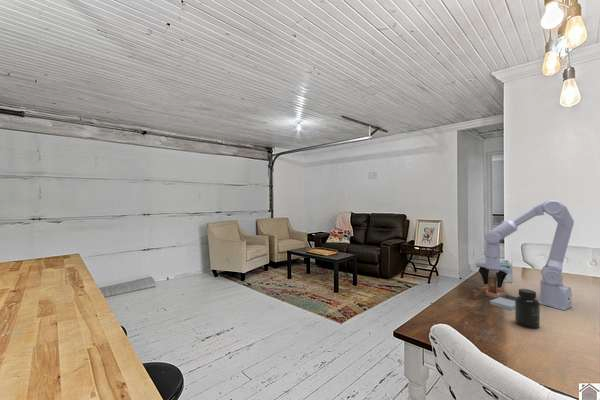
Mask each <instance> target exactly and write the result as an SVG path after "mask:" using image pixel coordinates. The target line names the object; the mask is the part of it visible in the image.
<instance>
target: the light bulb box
mask: <svg viewBox="0 0 600 400" xmlns="http://www.w3.org/2000/svg"><path fill="white" fill-rule="evenodd" d="M500 266H501V267H505V268H508V269H511V274H507V275H506V277H505V278H504V280H503V283H508V284H512V283H513V260H512V259H507V258H502V257H500ZM496 272H499V271H496Z"/></svg>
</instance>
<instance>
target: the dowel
mask: <svg viewBox="0 0 600 400" xmlns="http://www.w3.org/2000/svg"><path fill="white" fill-rule="evenodd" d="M487 286H488V292H491V293H494V294H497V289H498V288H497V277H494V276H488V284H487ZM496 288H497V289H496Z"/></svg>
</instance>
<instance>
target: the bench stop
mask: <svg viewBox="0 0 600 400" xmlns="http://www.w3.org/2000/svg"><path fill="white" fill-rule="evenodd" d="M484 297H486V295H485V289H484V288H483V287H480V286H475V288H474V289H471V290H470V299H472V300H478V299H481V298H484Z"/></svg>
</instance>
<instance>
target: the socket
mask: <svg viewBox="0 0 600 400" xmlns="http://www.w3.org/2000/svg"><path fill="white" fill-rule="evenodd" d="M499 297H501V298H505V299H508V300H512V301H515V299H516V297H517V296H514V295H510V294H509V295H507V294H504V295H501V296H497V298H499Z"/></svg>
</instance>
